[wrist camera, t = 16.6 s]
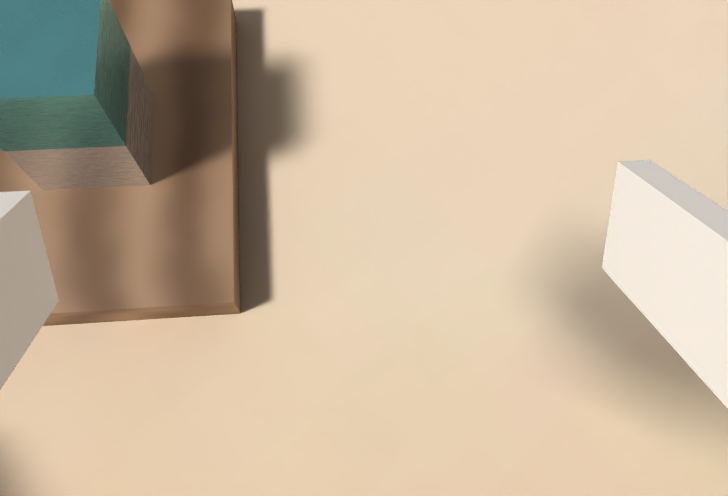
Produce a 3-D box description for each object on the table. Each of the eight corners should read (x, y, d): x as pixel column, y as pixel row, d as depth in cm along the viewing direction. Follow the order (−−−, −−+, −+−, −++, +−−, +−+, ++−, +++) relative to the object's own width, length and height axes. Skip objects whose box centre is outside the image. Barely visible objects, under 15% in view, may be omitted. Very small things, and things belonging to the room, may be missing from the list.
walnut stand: (236, 20, 52) (230, -7, 49) (240, 313, 44) (233, 302, 42) (2, 27, 51) (-17, 1, 48) (-36, 330, 43) (-62, 320, 40)
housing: (153, 94, 46) (101, -17, 36) (150, 185, 44) (93, 94, 34) (51, 98, 46) (-31, -13, 35) (42, 190, 43) (-48, 100, 33)
